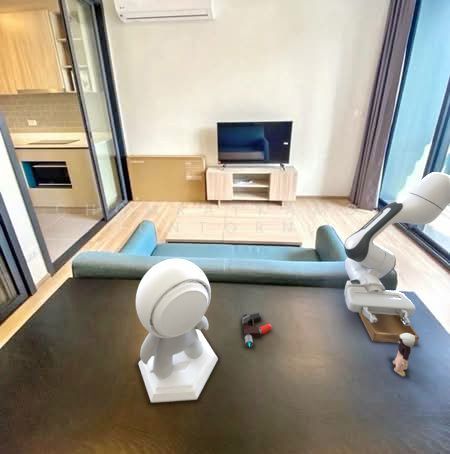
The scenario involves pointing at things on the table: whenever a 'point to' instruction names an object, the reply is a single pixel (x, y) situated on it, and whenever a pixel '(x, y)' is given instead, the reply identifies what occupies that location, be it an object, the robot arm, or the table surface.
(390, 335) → the shallow wooden tray
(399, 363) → the grandmother figurine
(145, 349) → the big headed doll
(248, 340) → the toy gun
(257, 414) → the table surface
